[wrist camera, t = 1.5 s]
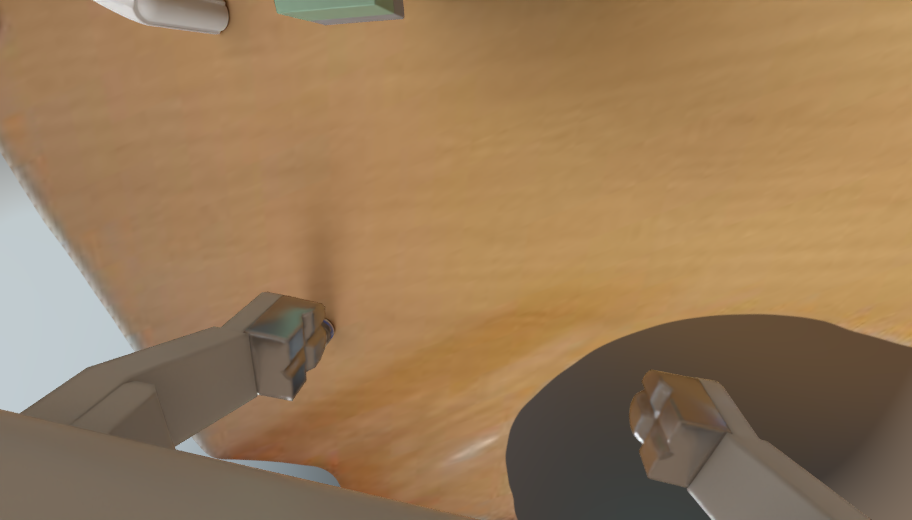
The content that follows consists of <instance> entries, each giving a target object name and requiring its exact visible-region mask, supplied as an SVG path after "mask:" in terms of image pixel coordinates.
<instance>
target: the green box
mask: <svg viewBox="0 0 912 520" xmlns="http://www.w3.org/2000/svg"><path fill="white" fill-rule="evenodd" d="M274 1H275V6H276V11H277V13H278V14H282V15H286V16H290V17H294V18H298V19H302V20H306V21H311V22H315V23H319V24H323V25H333V24H345V23H358V22H370V21H383V20H395V19H403V18H404V7H403V0H274Z"/></svg>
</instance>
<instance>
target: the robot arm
mask: <svg viewBox="0 0 912 520" xmlns="http://www.w3.org/2000/svg"><path fill="white" fill-rule="evenodd" d="M325 318H326V312H325V306H324V305H323V304H322V303H318V302H314V301H309V300H305V299H300V298H296V297H291V296H287V295H281V294H277V293H272V292H263V293H261V294H259V295H258V296H257V297H256V298H255V299H254V300H252V301H251V302H250V303H249V304H248V305H247V306H245V307H244V308H243V309H242V310H241V311H239V312H238V313H237V314H236V315H235V316H234V317H232V318H231V319H230V320H229V321H228V322H226V323H225V324H224V325H223V326H222V327H221V328H219V327H211V328H208V329H205V330H202V331H199V332H196V333H193V334H190V335H186V336H183V337H180V338H177V339H174V340H171V341H168V342H165V343H162V344H159V345H156V346H153V347H149V348H146V349H143V350H140V351H137V352H134V353H131V354H128V355H125V356H122V357H119V358H116V359H113V360H109V361H107V362H103V363H100V364H97V365H94V366H91V367H88V368H86V369H84V370H83V371H81V372H80V373H78V374H77V375H76V376H74V377H73V378H71V379H70V380H68V381H67V382H65V383H64V384H62V385H61V386H59V387H58V388H56V389H55V390H53V391H52V392H51V393H49V394H48V395H46V396H45V397H43V398H42V399H40V400H39V401H38V402H36V403H34V404H33V405H32V406H30V407H28V408H27V409H26V410H24V411H23V412H21V413H20V414H18V413H14V412H9V411H5V410H1V409H0V520H479V519H475V518H471V517H466V516H462V515H458V514H453V513H449V512H445V511H440V510H436V509H432V508H427V507H423V506H419V505H414V504H410V503H406V502H401V501H397V500H393V499H388V498H384V497H380V496H375V495H371V494H367V493H362V492H358V491H353V490H349V489H345V488H340V487H336V486H331V485H327V484H323V483H319V482H314V481H310V480H306V479H301V478H297V477H292V476H288V475H284V474H279V473H275V472H271V471H266V470H262V469H258V468H253V467H249V466H245V465H240V464H236V463H232V462H227V461H223V460H219V459H214V458H210V457H205V456H201V455H196V454H192V453H188V452H184V451H179V450H176V449H175V446H177V445H178V444H180V443H181V442H183V441H185V440H187V439H188V438H190V437H191V436H193V435H195V434H196V433H198V432H200V431H201V430H203V429H205V428H206V427H208V426H210V425H211V424H213V423H214V422H216V421H218V420H219V419H221V418H223V417H224V416H226V415H228V414H229V413H231V412H233V411H234V410H236V409H238V408H239V407H241V406H242V405H244V404H246V403H247V402H249V401H251V400H252V399H254V398H256V397H257V394H258V395H263V396H268V397H274V398H279V399H284V400H290V401H293V399H294V398H295V396H296V395H297V393H298V392H299V390H300V389H301V388H302V386H303V385H304V383H305V382H306V372H307V371H309V370H311V369H313V368H315V367H316V366H317V364H318V362H319V361H320V359H321V357H322V354H323V352H324V349H325V344H326V331H325V329H324V328H323V326H322V325H321V323H322V322H323V321H324V319H325ZM642 384H643V386H644V388H645V389H644V390H643V391H641V392H639V393H637V394H635V396H634V398H633V400H632V403H631V405H630V413H629V419H630V426H631V429H632V432H633V435H634V436H635V437H636V438H637V439H638V440H639V441H640V442H641V443H642V444H643V445H642V447H641V448H640V450H639V453H640V456H641V459H642V461H643V464H644V467H645V470H646V473H647V476H648V478H649V479H654V480H657V481H661V482H665V483H669V484H673V485H678V486H682V487H686V488H688V489H687V490H688V492H689V493H690V494H691V495H692V496H693V498H694V499H695V500H696V501H697V502H698V504H699V505H700V506H701V507H702V508H703V510H704V511H705V512H706V513H707V514H708V516H709V517H710V518H711V519H712V520H871V519H870V518H868V517H867V516H866V515H864V514H863V513H862V512H860V511H859V510H858V509H856V508H855V507H854V506H852V505H851V504H850V503H848V502H847V501H846V500H845V499H843V498H842V497H841V496H839V495H838V494H837V493H835V492H834V491H832V490H831V489H830V488H829V487H827V486H826V485H825V484H823V483H822V482H821V481H819V480H818V479H817V478H815V477H814V476H812V475H811V474H810V473H809V472H807V471H806V470H805V469H803V468H802V467H801V466H799V465H798V464H796V463H795V462H794V461H793V460H791V459H790V458H789V457H787V456H786V455H785V454H783V453H782V452H781V451H779V450H778V449H777V448H775V447H774V446H772V445H771V444H770V443H769V442H767V441H763V440H760V439H759V438H758V437H757V435H756V434H755V432H754V431H753V430H752V428H751V426H750V425H749V423H748V422H747V421H746V419H745V418H744V416H743V415H742V413H741V412H740V411H739V409H738V408H737V406H736V405H735V403H734V402H733V400H732V399H731V397H730V396H729V395H728V393H727V392H726V390H725V389H724V387H723V386H722V385H721V384H720V383H718V382H717V381H713V380H707V379H701V378H696V377H693V378H692V377H687V376H681V375H676V374H671V373H666V372H661V371H656V370H649V371H648V372H647V373H646V374H645V376H644V378H643V380H642Z"/></svg>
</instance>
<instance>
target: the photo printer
mask: <svg viewBox="0 0 912 520" xmlns="http://www.w3.org/2000/svg"><path fill="white" fill-rule="evenodd" d="M93 1H95V2H97V3H99V4H100V5H102V6H104V7H106V8H108V9H110V10H112V11H114V12H116V13H118V14H120V15H122V16H124V17H126V18H128V19H130V20H133V21H135V22H138V23H141V24H145V25H149V26H156V27H163V28H170V29H178V30H185V31H193V32H201V33H209V34H220V31H223V30H224V29H225V28H226V26H227V24H228V19H229V15H228V10H227V7H226V6H225V4H226V3H225V2H224V1H223V0H93Z"/></svg>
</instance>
